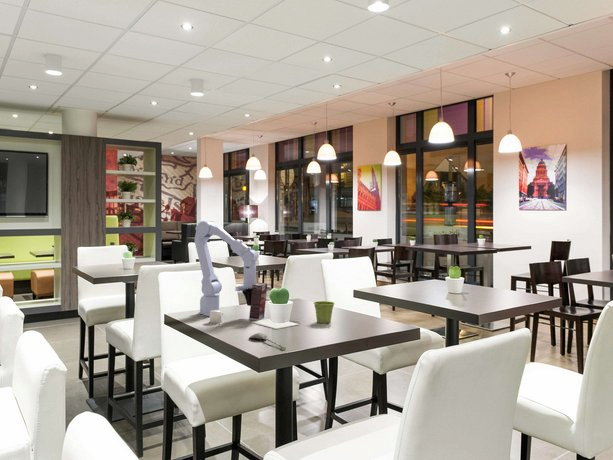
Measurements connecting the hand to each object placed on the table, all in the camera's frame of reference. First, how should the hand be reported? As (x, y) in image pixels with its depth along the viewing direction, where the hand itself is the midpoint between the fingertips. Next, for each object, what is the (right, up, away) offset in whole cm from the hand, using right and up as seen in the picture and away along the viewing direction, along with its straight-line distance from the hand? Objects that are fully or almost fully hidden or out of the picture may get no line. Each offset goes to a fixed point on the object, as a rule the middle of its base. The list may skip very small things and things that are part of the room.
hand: (249, 305), depth 226 cm
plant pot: (+34, -6, -8) cm, 36 cm away
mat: (+13, -6, -13) cm, 19 cm away
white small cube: (-13, -6, -12) cm, 19 cm away
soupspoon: (+12, -7, -46) cm, 49 cm away
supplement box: (+4, -6, -4) cm, 8 cm away
